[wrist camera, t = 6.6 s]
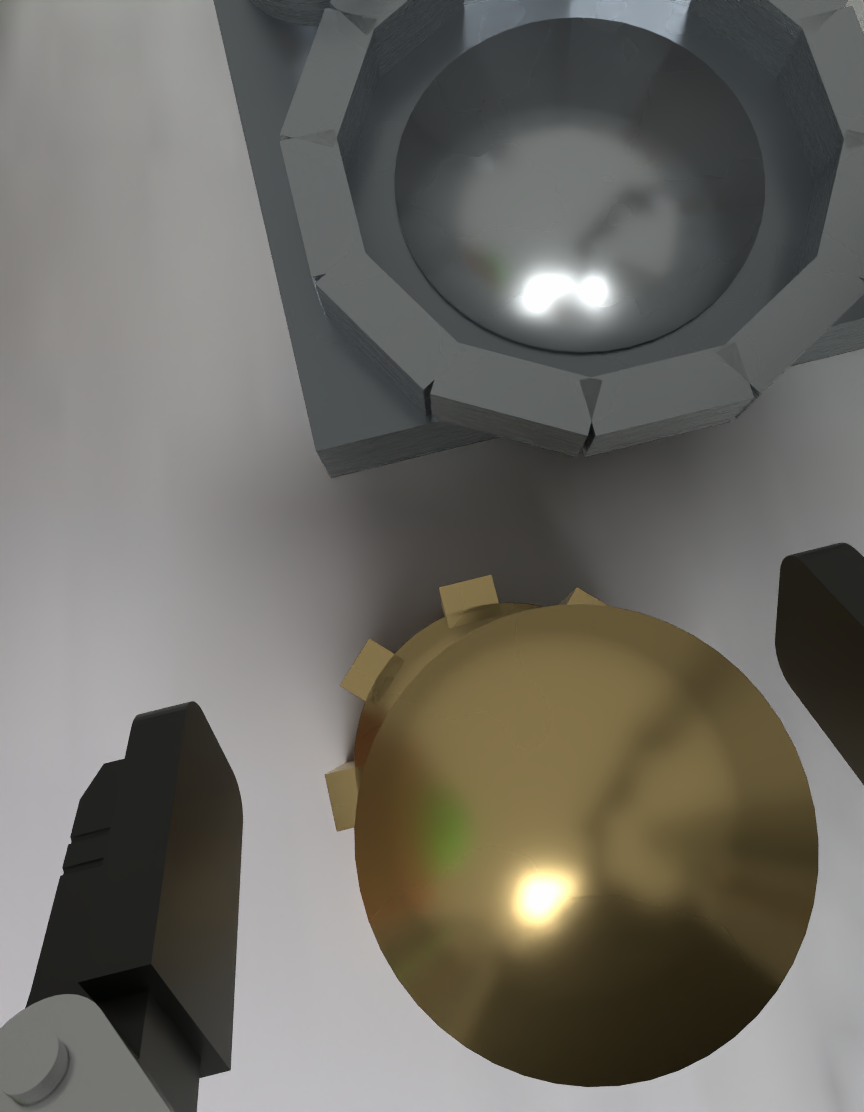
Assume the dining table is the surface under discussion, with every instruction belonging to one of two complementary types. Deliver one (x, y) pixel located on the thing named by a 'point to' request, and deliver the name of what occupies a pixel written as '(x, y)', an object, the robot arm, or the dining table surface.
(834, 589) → the robot arm
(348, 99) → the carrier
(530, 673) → the gear
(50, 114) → the dining table surface
